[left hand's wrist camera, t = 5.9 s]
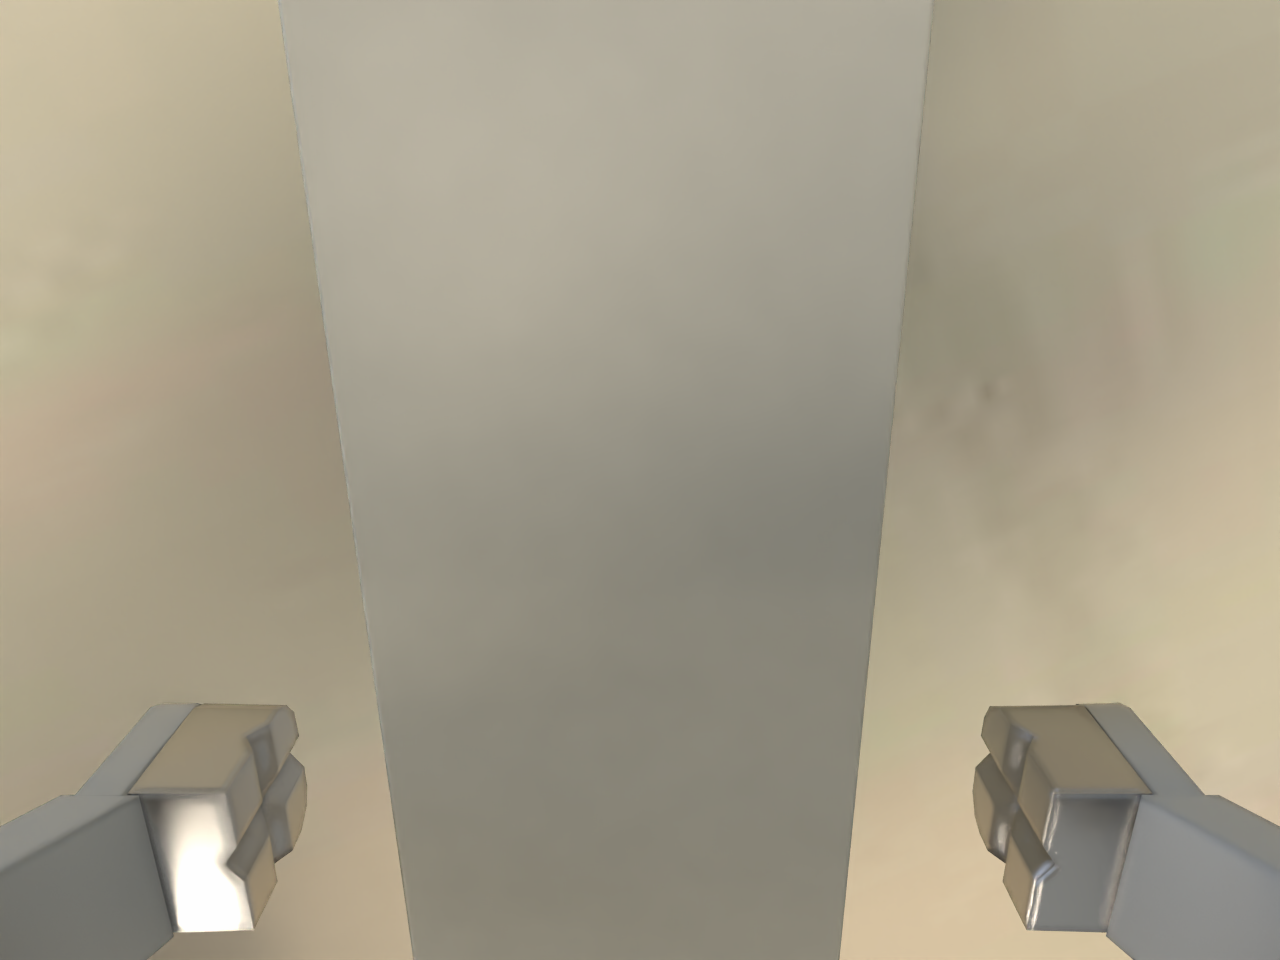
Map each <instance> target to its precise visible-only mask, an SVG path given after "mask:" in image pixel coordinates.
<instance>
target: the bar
mask: <svg viewBox="0 0 1280 960" xmlns="http://www.w3.org/2000/svg"><path fill="white" fill-rule="evenodd" d="M934 1H935V0H278V5H279V12H280V19H281V26H282V33H283V40H284V47H285V54H286V61H287V68H288V75H289V83H290V90H291V97H292V104H293V111H294V118H295V125H296V132H297V139H298V146H299V153H300V160H301V167H302V174H303V182H304V189H305V196H306V203H307V210H308V217H309V224H310V231H311V238H312V245H313V252H314V259H315V266H316V273H317V281H318V288H319V295H320V302H321V309H322V316H323V323H324V330H325V337H326V344H327V351H328V358H329V365H330V372H331V380H332V387H333V394H334V401H335V408H336V415H337V422H338V429H339V436H340V443H341V450H342V457H343V464H344V471H345V479H346V486H347V493H348V500H349V507H350V514H351V521H352V528H353V535H354V542H355V549H356V556H357V563H358V570H359V578H360V585H361V592H362V599H363V606H364V613H365V620H366V627H367V634H368V641H369V648H370V655H371V662H372V669H373V677H374V684H375V691H376V698H377V705H378V712H379V719H380V726H381V733H382V740H383V747H384V754H385V761H386V768H387V776H388V783H389V790H390V797H391V804H392V811H393V818H394V825H395V832H396V839H397V846H398V853H399V860H400V867H401V875H402V882H403V889H404V896H405V903H406V910H407V917H408V924H409V931H410V938H411V945H412V952H413V959H414V960H839V957H840V947H841V937H842V927H843V917H844V907H845V897H846V887H847V877H848V867H849V857H850V847H851V837H852V826H853V816H854V806H855V796H856V786H857V776H858V766H859V756H860V746H861V736H862V726H863V716H864V706H865V696H866V685H867V675H868V665H869V655H870V645H871V635H872V625H873V615H874V605H875V595H876V585H877V575H878V565H879V555H880V544H881V534H882V524H883V514H884V504H885V494H886V484H887V474H888V464H889V454H890V444H891V434H892V424H893V413H894V403H895V393H896V383H897V373H898V363H899V353H900V343H901V333H902V323H903V313H904V303H905V293H906V283H907V272H908V262H909V252H910V242H911V232H912V222H913V212H914V202H915V192H916V182H917V172H918V162H919V152H920V142H921V131H922V121H923V111H924V101H925V91H926V81H927V71H928V61H929V51H930V41H931V31H932V21H933V11H934Z"/></svg>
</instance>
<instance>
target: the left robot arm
mask: <svg viewBox="0 0 1280 960" xmlns="http://www.w3.org/2000/svg"><path fill="white" fill-rule="evenodd" d="M298 737H299V733H298V728H297V723H296V718H295V714H294V711H293V710H291V709H290V708H289V707H288V706H287V705H254V704H207V703H204V704H198V703H162V704H159V705H156V706H153V707H150V708H149V710H148V711H147V712H146V713H145V714H144V715H143V716H142V718H141V719H140V720H139V721H138V722H137V723H136V725H135V726H134V727H133V728H132V729H131V730H130V732H129V733H128V734H127V735H126V736H125V737H124V739H123V740H122V741H121V742H120V743H119V744H118V746H117V747H116V748H115V749H114V750H113V751H112V753H111V754H110V755H109V756H108V757H107V758H106V760H105V761H104V762H103V763H102V764H101V765H100V766H99V768H98V769H97V770H96V771H95V772H94V773H93V775H92V776H91V777H90V778H89V779H88V780H87V782H86V783H85V784H84V785H83V786H82V787H81V789H80V790H79V791H78V792H77V793H76V794H75V795H60V796H58V797H57V798H55V799H53V800H51V801H49V802H47V803H45V804H43V805H41V806H39V807H37V808H35V809H33V810H31V811H29V812H27V813H26V814H24V815H22V816H20V817H18V818H16V819H14V820H12V821H10V822H8V823H6V824H4V825H2V826H0V960H147V959H148V958H149V957H151V956H152V955H153V954H154V953H155V952H156V951H158V950H159V949H160V948H161V947H162V946H163V945H165V944H166V943H167V942H168V941H169V940H170V939H172V938H173V936H174V934H173V932H203V931H237V930H254V928H255V926H256V924H257V922H258V920H259V918H260V916H261V914H262V912H263V910H264V908H265V906H266V904H267V902H268V900H269V898H270V896H271V893H272V891H273V889H274V887H275V885H276V883H277V876H276V870H275V865H274V863H276V862H277V861H279V860H280V859H281V858H283V857H284V856H285V855H287V854H288V853H290V852H291V851H292V850H293V848H294V846H295V844H296V841H297V839H298V837H299V835H300V833H301V830H302V825H303V821H304V816H305V811H306V807H307V782H306V775H305V768H304V766H303V765H302V764H301V763H300V762H299V761H298V760H297V759H296V758H295V757H294V756H293V755H292V754H291V753H290V751H291V749H292V748H293V746H294V744H295V742H296V740H297V739H298ZM981 737H982V739H983V740H984V742H985V744H986V746H987V748H988V749H989V751H990V753H989V754H988V755H987V756H986V757H985V758H984V759H983V760H982V761H981V762H980V763H979V764H978V765H977V766H976V769H975V777H974V784H973V802H974V813H975V818H976V822H977V825H978V829H979V832H980V835H981V837H982V839H983V841H984V844H985V846H986V848H987V850H988V851H989V852H990V853H992V854H993V855H995V856H996V857H997V858H999V859H1000V860H1001V861H1003V862H1004V863H1006V865H1005V871H1004V876H1003V883H1004V885H1005V887H1006V889H1007V891H1008V893H1009V895H1010V897H1011V900H1012V902H1013V904H1014V906H1015V908H1016V910H1017V912H1018V914H1019V916H1020V918H1021V920H1022V922H1023V924H1024V926H1025V928H1026V930H1041V931H1076V932H1107V934H1106V937H1108V938H1109V939H1110V940H1111V941H1112V942H1113V943H1115V944H1116V945H1117V946H1118V947H1119V948H1120V949H1122V950H1123V951H1124V952H1125V953H1126V954H1127V955H1129V956H1130V957H1131V958H1132V959H1133V960H1280V827H1279V826H1278V825H1276V824H1274V823H1272V822H1270V821H1268V820H1266V819H1264V818H1262V817H1260V816H1258V815H1256V814H1254V813H1252V812H1251V811H1249V810H1247V809H1245V808H1243V807H1241V806H1239V805H1237V804H1235V803H1233V802H1231V801H1229V800H1227V799H1225V798H1223V797H1222V796H1220V795H1205V794H1204V793H1203V792H1202V791H1201V790H1200V789H1199V787H1198V786H1197V785H1196V784H1195V783H1194V782H1193V780H1192V779H1191V778H1190V777H1189V776H1188V775H1187V774H1186V772H1185V771H1184V770H1183V769H1182V768H1181V767H1180V765H1179V764H1178V763H1177V762H1176V761H1175V760H1174V758H1173V757H1172V756H1171V755H1170V754H1169V753H1168V751H1167V750H1166V749H1165V748H1164V747H1163V746H1162V744H1161V743H1160V742H1159V741H1158V740H1157V739H1156V737H1155V736H1154V735H1153V734H1152V733H1151V732H1150V730H1149V729H1148V728H1147V727H1146V726H1145V725H1144V723H1143V722H1142V721H1141V720H1140V719H1139V718H1138V717H1137V715H1136V714H1135V713H1134V712H1133V711H1132V710H1131V708H1129V707H1127V706H1125V705H1123V704H1121V703H1095V704H1076V705H1051V706H990V707H989V709H988V711H987V713H986V715H985V717H984V722H983V727H982V733H981Z"/></svg>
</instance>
